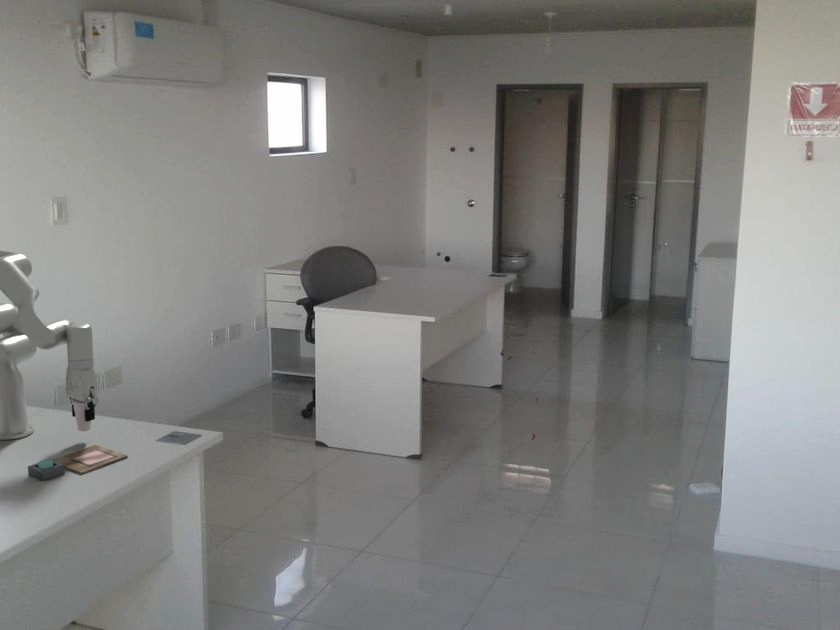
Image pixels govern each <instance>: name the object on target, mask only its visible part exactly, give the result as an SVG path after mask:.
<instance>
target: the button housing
mask: <svg viewBox="0 0 840 630" xmlns="http://www.w3.org/2000/svg"><path fill="white" fill-rule="evenodd" d="M49 460H52V459H50V458H49ZM65 471H66V470H65V468H64V464H62V463H59V462H56V461H54V460H53V466H52V467H49V468H47V469H44V470H43V469H40V468H38V462H37V463H34V464H31V465H28V466H27V473H28V477H29V476H30V478H32V477H33V478H32V479H34V478H36V479H35V480H37V479H38V480H37V481H39V480H40V482H42V481H44V482H46V480H47V481H50V480H52V479H55V478H58V477H60V476H63V475H66V474H65V473H66V472H65Z"/></svg>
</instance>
